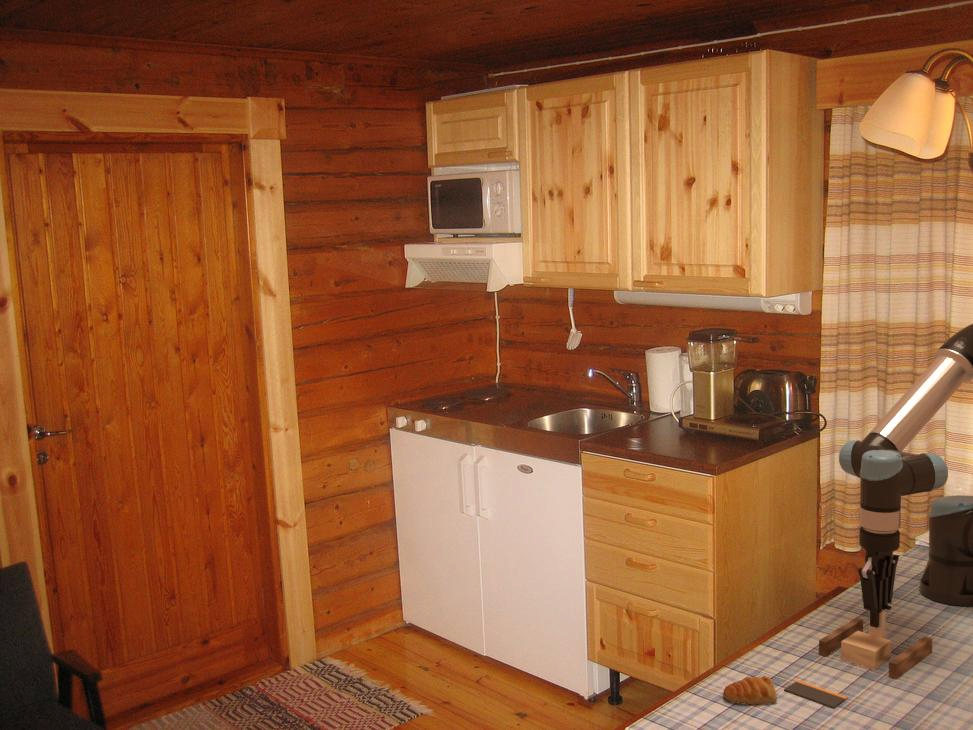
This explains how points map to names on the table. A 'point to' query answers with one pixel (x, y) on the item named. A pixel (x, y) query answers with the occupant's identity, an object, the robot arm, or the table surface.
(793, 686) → the pad
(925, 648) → the lane
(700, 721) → the table surface
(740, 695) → the pastry
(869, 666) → the block
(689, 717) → the table surface
